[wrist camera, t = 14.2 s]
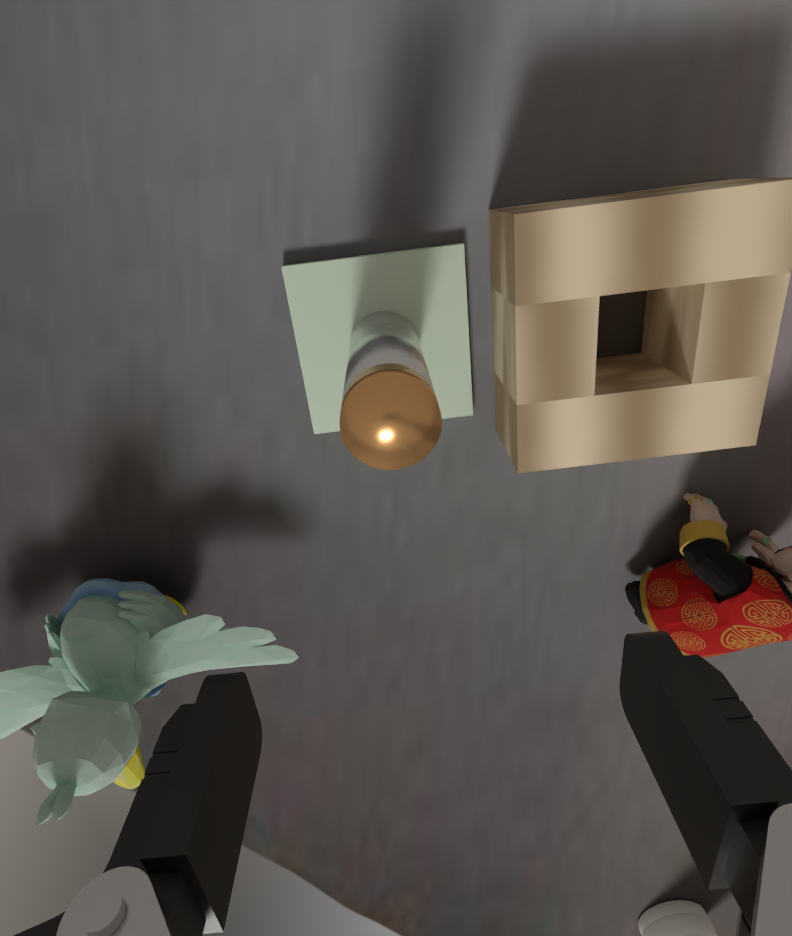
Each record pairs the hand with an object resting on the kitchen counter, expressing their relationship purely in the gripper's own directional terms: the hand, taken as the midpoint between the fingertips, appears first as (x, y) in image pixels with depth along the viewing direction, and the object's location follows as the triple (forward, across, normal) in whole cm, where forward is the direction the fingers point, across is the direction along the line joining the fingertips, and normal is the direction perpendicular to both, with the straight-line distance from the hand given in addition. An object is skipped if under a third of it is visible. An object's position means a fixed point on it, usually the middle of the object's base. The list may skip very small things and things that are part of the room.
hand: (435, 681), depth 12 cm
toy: (+24, +21, +17) cm, 36 cm away
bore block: (+24, -12, -1) cm, 27 cm away
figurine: (+25, -21, +16) cm, 36 cm away
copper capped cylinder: (+24, +1, -1) cm, 24 cm away
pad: (+24, +1, -1) cm, 24 cm away
